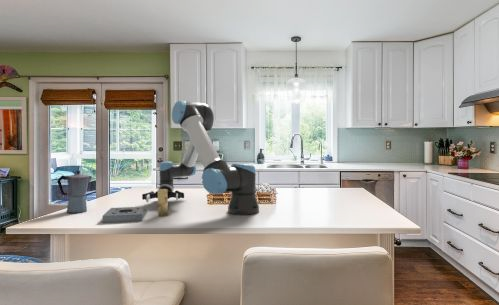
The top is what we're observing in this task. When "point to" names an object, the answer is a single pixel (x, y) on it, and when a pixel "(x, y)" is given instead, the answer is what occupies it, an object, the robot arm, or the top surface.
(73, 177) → the moka pot
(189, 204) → the top surface
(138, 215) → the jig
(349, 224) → the top surface
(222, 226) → the top surface
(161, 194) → the tan peg
